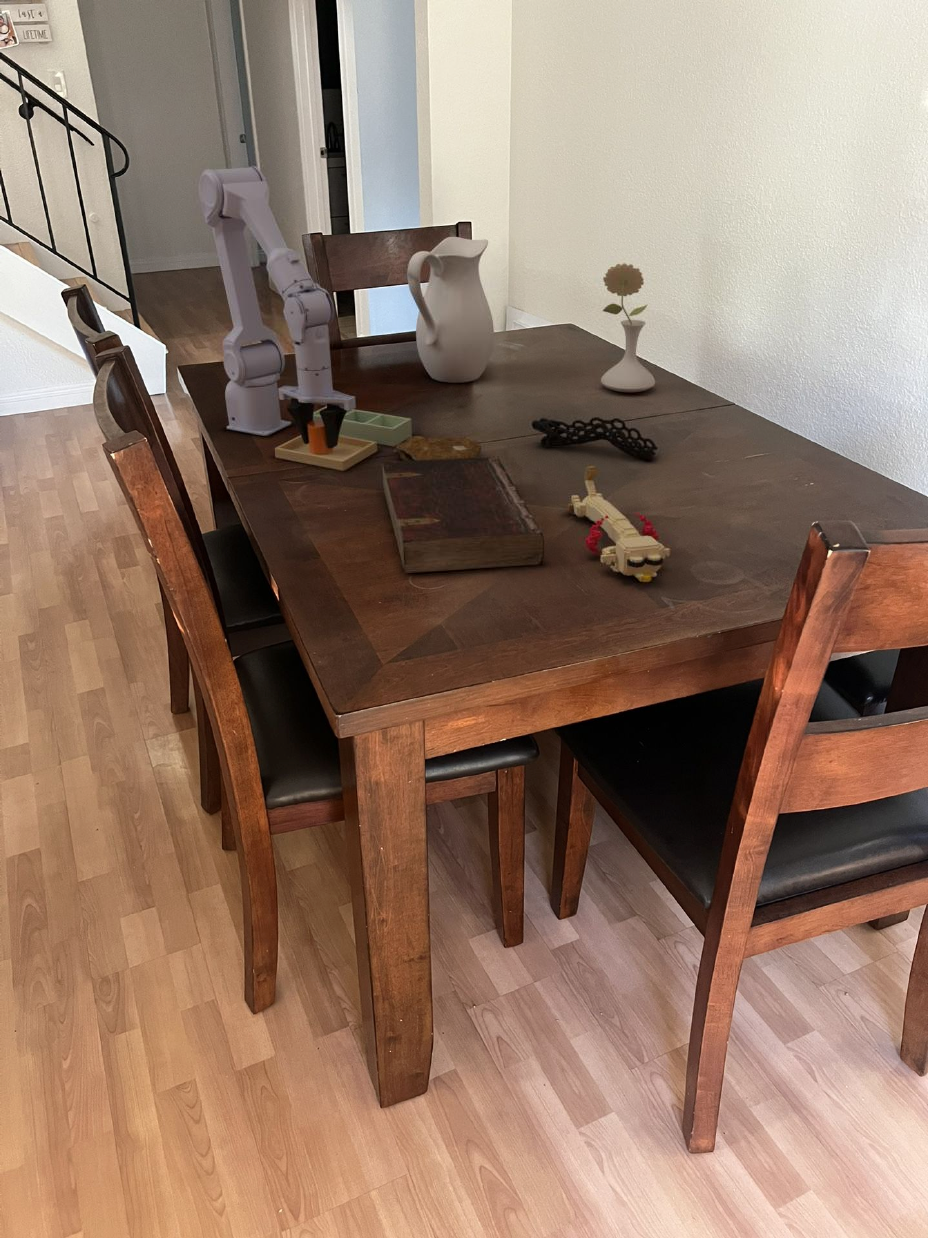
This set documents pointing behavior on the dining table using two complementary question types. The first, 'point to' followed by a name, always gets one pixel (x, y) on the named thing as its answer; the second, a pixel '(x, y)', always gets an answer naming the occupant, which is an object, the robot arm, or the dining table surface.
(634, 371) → the flower in vase
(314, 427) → the orange cylinder
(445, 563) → the hardback book
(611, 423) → the decorative element
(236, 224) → the robot arm
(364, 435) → the green compartment tray
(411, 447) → the decorative rock
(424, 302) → the pitcher
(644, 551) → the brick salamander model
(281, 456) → the birch tray
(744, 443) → the dining table surface
